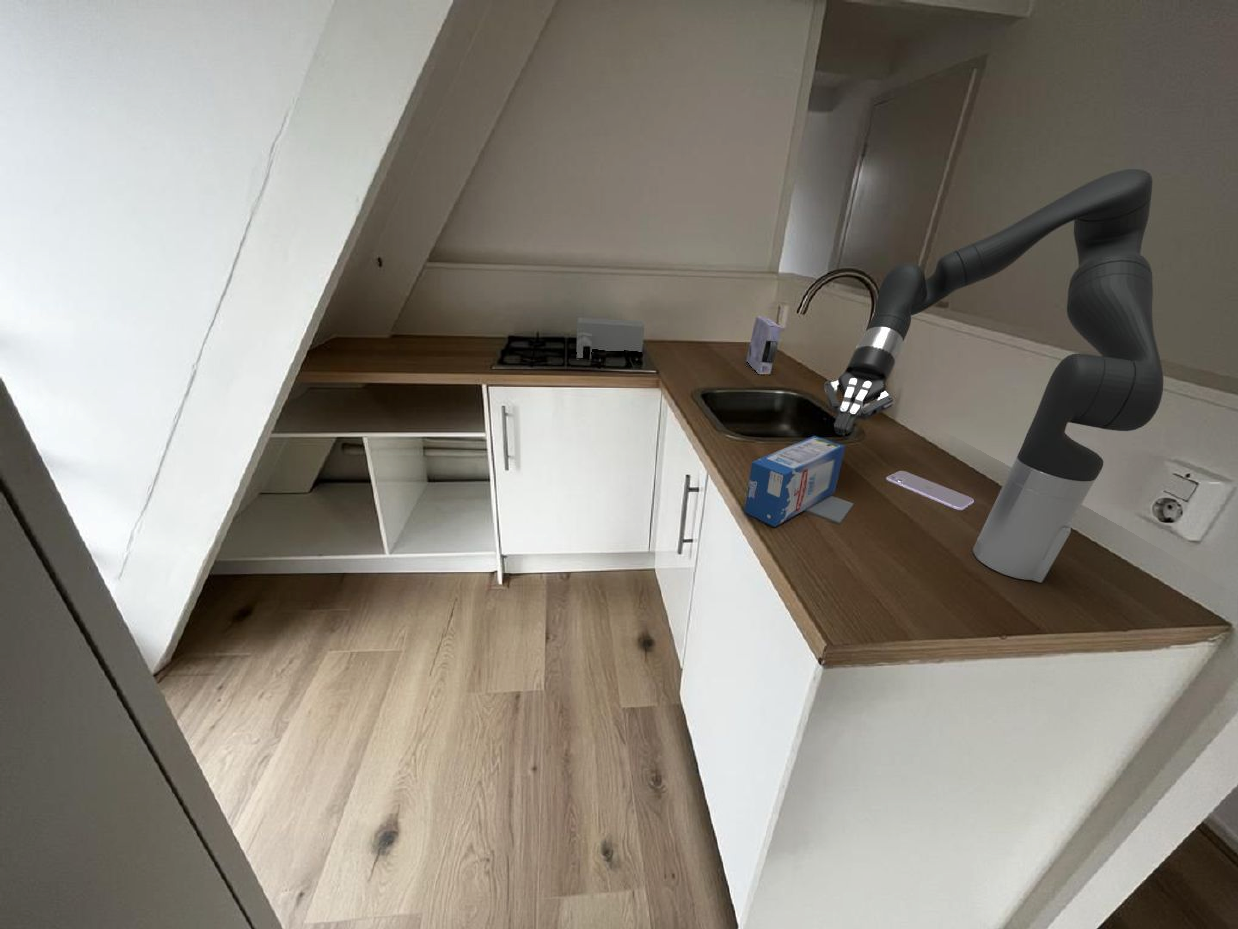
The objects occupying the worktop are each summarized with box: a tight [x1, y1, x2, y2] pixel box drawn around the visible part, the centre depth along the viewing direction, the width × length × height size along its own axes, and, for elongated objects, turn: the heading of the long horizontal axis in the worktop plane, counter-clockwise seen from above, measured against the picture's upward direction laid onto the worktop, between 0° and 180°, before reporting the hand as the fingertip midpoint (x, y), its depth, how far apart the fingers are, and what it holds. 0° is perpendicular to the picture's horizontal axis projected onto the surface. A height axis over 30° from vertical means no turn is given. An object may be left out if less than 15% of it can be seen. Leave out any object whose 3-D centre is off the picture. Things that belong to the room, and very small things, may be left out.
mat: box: [802, 494, 854, 525], centre depth 92 cm, size 12×9×1 cm
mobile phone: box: [885, 470, 975, 511], centre depth 101 cm, size 8×1×15 cm
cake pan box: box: [745, 315, 782, 375], centre depth 177 cm, size 19×5×18 cm, turn 0°
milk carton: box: [744, 435, 846, 528], centre depth 89 cm, size 10×6×20 cm
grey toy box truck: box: [575, 316, 645, 360], centre depth 184 cm, size 25×23×11 cm
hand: (839, 432), depth 91 cm, fingers closed
